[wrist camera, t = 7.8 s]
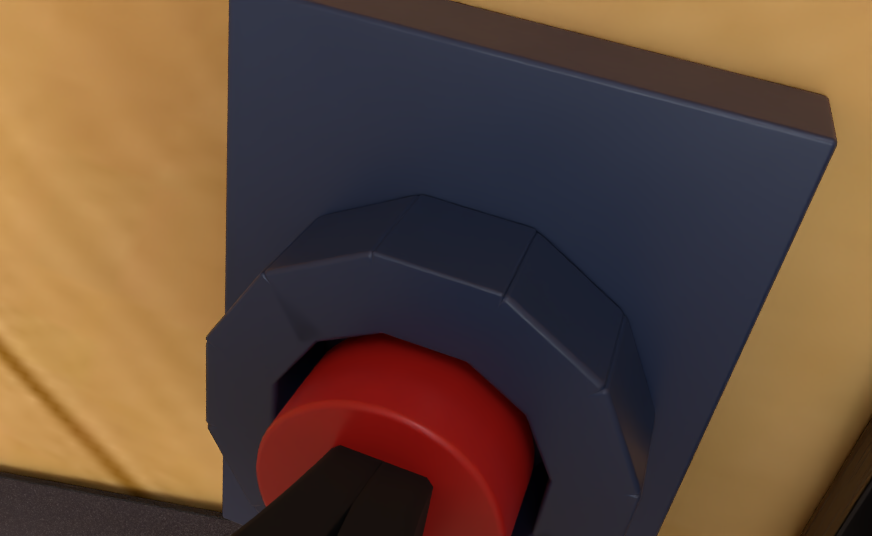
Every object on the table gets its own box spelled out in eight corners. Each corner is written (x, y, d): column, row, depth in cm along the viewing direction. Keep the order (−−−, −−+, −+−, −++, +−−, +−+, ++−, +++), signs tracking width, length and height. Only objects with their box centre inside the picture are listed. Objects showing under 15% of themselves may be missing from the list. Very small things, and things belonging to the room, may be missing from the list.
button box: (609, 598, 17) (578, 763, 14) (261, 462, 18) (169, 587, 16) (830, 95, 11) (853, 207, 8) (286, -42, 12) (145, 11, 10)
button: (508, 548, 13) (477, 642, 12) (302, 468, 14) (249, 548, 12) (562, 377, 11) (531, 465, 10) (318, 295, 12) (257, 366, 10)
